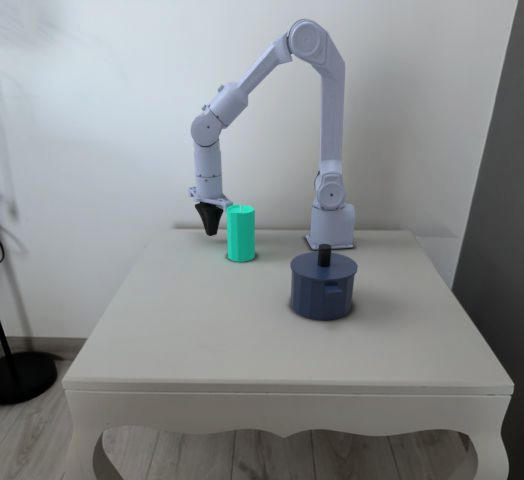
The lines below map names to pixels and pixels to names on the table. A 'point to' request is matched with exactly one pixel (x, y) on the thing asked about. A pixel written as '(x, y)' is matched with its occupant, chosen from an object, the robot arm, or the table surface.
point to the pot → (321, 298)
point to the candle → (241, 232)
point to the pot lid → (323, 265)
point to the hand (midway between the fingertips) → (211, 234)
